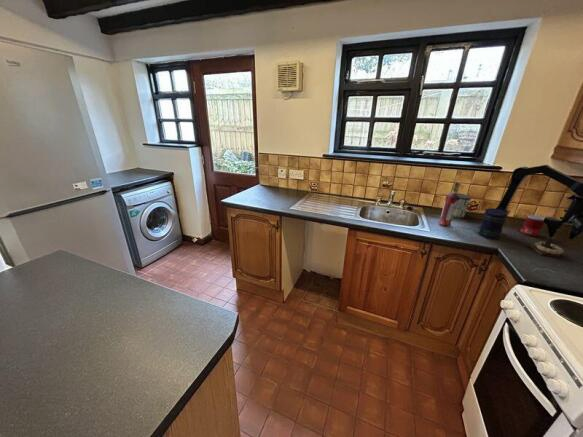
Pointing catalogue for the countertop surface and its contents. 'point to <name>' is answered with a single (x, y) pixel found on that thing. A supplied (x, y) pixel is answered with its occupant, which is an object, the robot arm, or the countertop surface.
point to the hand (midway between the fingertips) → (560, 238)
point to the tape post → (547, 244)
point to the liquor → (450, 206)
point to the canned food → (532, 225)
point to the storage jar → (492, 223)
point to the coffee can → (462, 205)
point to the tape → (556, 248)
